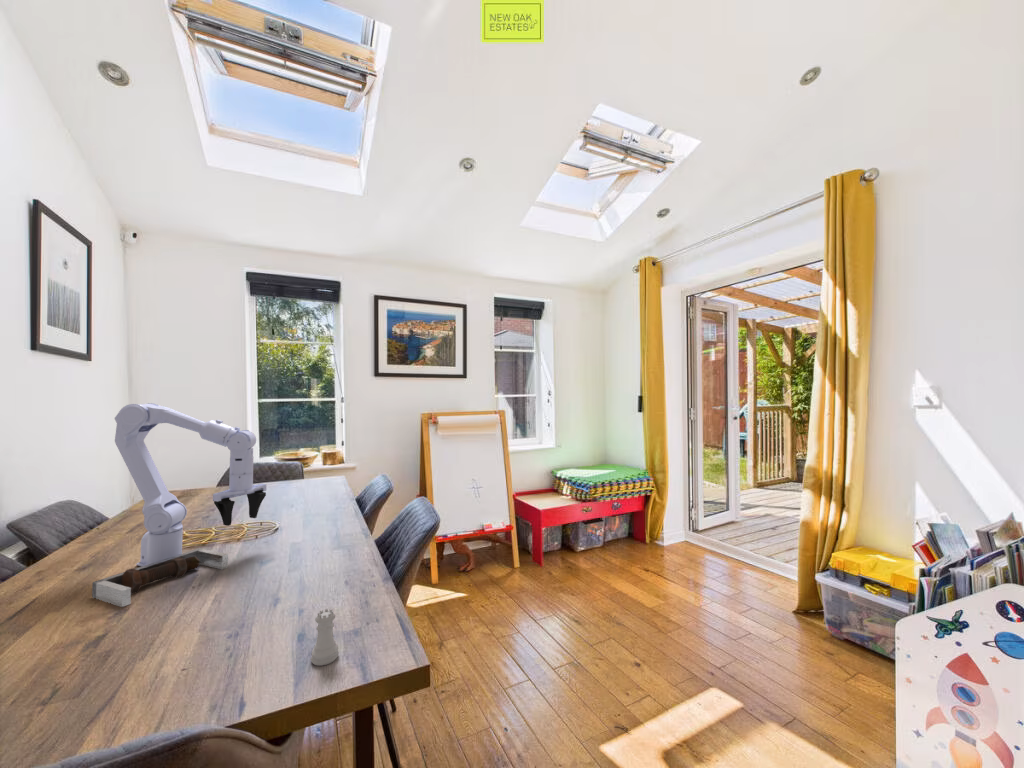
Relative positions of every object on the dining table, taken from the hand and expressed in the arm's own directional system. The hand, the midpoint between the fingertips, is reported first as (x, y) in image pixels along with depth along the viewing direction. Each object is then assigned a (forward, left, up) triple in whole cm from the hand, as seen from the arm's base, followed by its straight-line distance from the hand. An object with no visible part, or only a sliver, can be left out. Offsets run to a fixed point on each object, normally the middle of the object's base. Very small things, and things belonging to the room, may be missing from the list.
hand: (240, 521), depth 121 cm
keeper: (-1, -18, -10) cm, 21 cm away
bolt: (-2, -18, -10) cm, 21 cm away
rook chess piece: (+59, -27, -10) cm, 66 cm away
